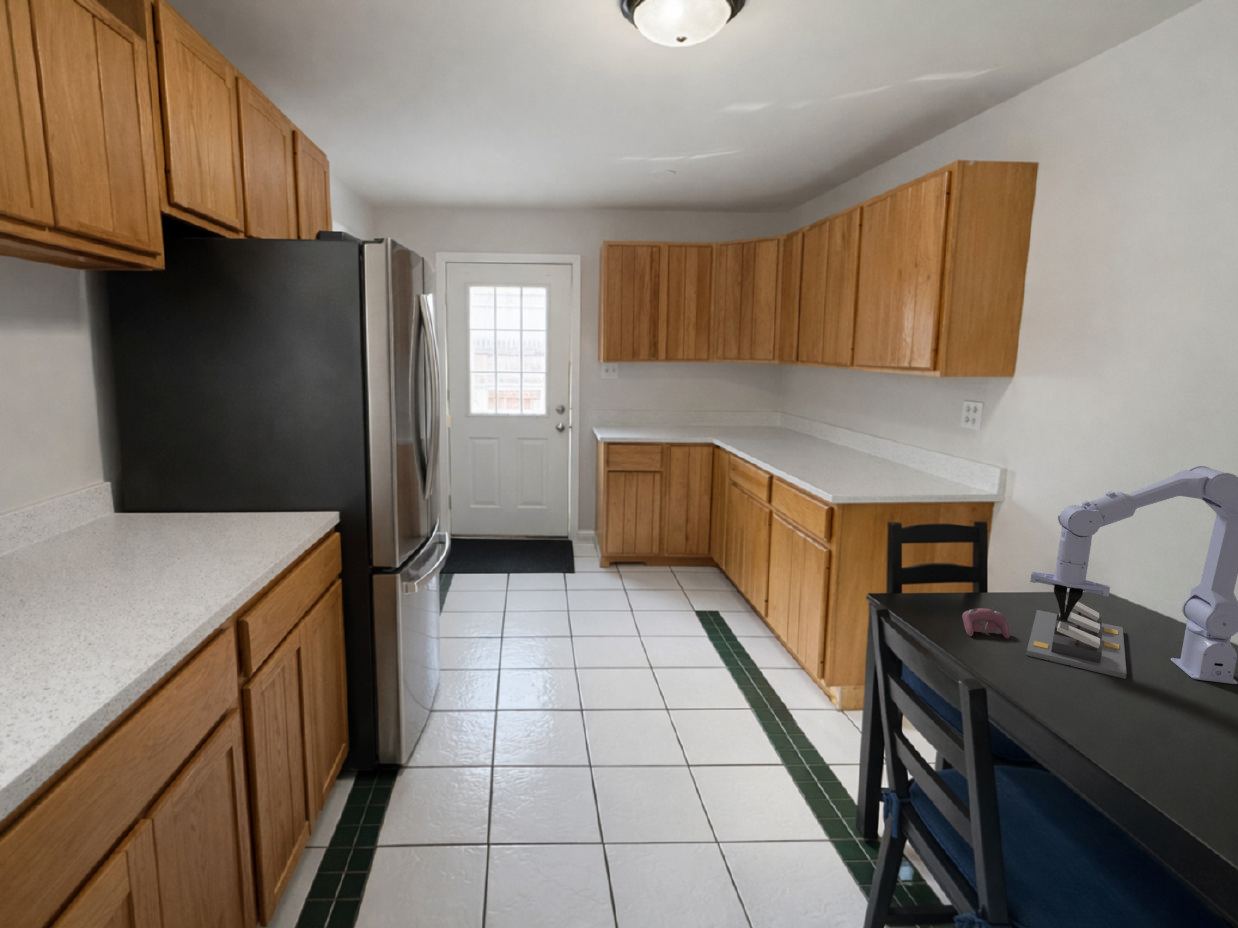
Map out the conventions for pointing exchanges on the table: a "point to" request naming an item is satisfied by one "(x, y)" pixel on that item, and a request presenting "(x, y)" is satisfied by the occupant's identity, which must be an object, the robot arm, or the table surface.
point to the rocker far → (1085, 610)
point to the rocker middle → (1084, 622)
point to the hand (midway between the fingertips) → (1063, 619)
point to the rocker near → (1078, 634)
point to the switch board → (1107, 653)
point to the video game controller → (981, 614)
